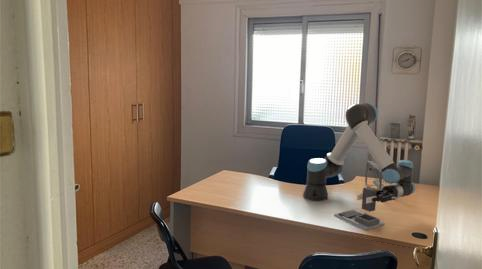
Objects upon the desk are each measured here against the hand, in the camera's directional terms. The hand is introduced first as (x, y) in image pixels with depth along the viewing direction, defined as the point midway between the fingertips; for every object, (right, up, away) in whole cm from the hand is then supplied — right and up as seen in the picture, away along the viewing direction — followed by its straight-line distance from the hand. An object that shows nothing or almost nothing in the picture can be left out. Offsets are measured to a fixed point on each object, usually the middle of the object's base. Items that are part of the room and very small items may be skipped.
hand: (362, 198), depth 184 cm
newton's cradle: (+30, -6, +58) cm, 66 cm away
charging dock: (+1, -13, +10) cm, 16 cm away
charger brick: (+4, -6, +4) cm, 8 cm away
